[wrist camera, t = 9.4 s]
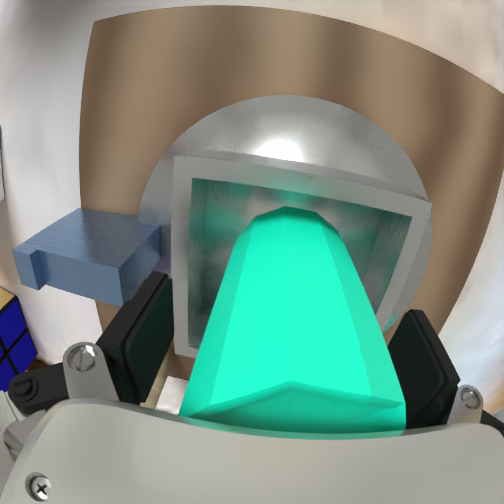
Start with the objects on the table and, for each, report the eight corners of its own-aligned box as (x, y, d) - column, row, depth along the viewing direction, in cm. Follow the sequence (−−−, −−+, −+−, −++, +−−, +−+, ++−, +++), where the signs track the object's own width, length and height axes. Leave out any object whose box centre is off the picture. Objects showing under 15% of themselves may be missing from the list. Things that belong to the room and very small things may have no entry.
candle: (342, 302, 16) (384, 510, 5) (241, 308, 17) (199, 515, 6) (345, 201, 13) (474, 433, 3) (224, 211, 14) (105, 447, 3)
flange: (455, 143, 12) (530, 166, 6) (370, 367, 19) (386, 434, 14) (79, 92, 12) (1, 96, 7) (97, 320, 20) (58, 375, 14)
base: (504, 100, 11) (575, 110, 4) (391, 391, 23) (406, 450, 16) (102, 24, 11) (29, 2, 5) (114, 351, 23) (83, 406, 17)
